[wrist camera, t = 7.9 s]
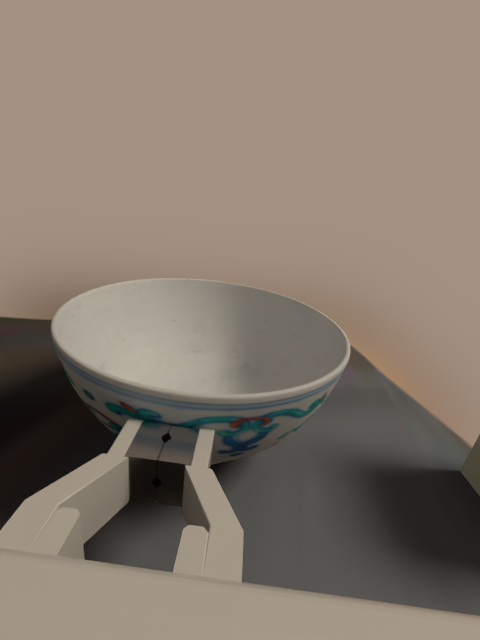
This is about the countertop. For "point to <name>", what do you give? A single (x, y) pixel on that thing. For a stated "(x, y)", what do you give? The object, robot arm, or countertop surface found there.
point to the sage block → (473, 467)
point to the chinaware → (200, 358)
